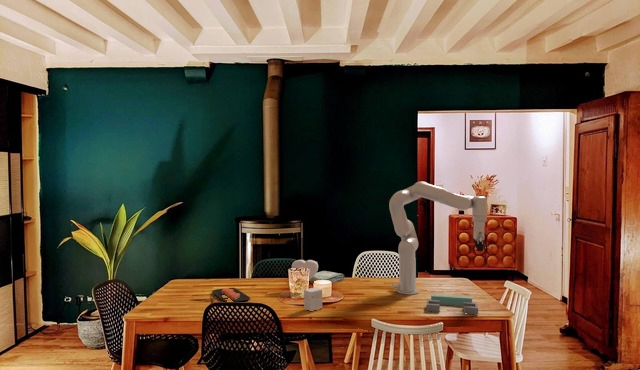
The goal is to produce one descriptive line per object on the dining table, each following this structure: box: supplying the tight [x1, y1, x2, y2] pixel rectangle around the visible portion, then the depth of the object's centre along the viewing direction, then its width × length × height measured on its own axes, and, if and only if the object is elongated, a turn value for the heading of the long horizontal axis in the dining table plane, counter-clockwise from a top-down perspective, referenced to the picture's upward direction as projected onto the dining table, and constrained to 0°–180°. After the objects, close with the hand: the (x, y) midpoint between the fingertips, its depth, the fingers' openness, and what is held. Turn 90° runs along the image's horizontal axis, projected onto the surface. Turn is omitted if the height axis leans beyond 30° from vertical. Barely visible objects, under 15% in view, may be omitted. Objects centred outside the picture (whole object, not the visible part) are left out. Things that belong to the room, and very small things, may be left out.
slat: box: [430, 294, 473, 307], centre depth 245 cm, size 21×3×4 cm, turn 76°
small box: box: [303, 287, 323, 311], centre depth 237 cm, size 8×6×10 cm
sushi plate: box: [191, 287, 251, 304], centre depth 258 cm, size 29×30×4 cm
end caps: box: [425, 299, 479, 315], centre depth 234 cm, size 25×9×4 cm, turn 75°
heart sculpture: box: [291, 259, 319, 279], centre depth 275 cm, size 16×5×18 cm, turn 81°
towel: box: [309, 270, 345, 284], centre depth 298 cm, size 18×21×5 cm
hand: (479, 249), depth 253 cm, fingers open, 9 cm apart
